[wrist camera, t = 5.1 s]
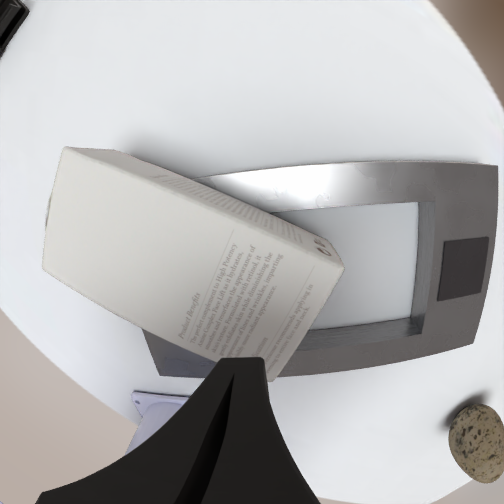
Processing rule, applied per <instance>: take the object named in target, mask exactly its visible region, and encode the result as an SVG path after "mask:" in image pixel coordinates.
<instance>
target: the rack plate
mask: <svg viewBox="0 0 504 504" xmlns="http://www.w3.org/2000/svg"><path fill="white" fill-rule="evenodd" d="M191 180H193V181H196V182H198V183H200V184H203V185H205V186H207V187H210V188H212V189H215V190H217V191H219V192H222V193H224V194H226V195H229V196H231V197H233V198H236V199H238V200H240V201H242V202H245V203H247V204H249V205H251V206H254V207H256V208H258V209H260V210H262V211H265V212H267V213H271V212H282V211H292V210H304V209H315V208H328V207H341V206H355V205H370V204H386V203H405V202H419V235H418V254H417V267H416V278H415V287H414V296H413V303H412V310H411V317H410V318H404V319H398V320H392V321H386V322H379V323H372V324H365V325H357V326H349V327H341V328H332V329H322V330H312V331H308V332H307V333H306V335H305V336H304V338H303V339H302V341H301V343H300V344H299V346H298V347H297V349H296V350H295V352H294V353H293V355H292V356H291V358H290V359H289V360H288V362H287V363H286V365H285V366H284V368H283V369H282V371H281V372H280V373H279V375H278V376H277V377H288V376H301V375H313V374H323V373H332V372H340V371H348V370H355V369H362V368H369V367H375V366H381V365H386V364H392V363H397V362H402V361H407V360H412V359H416V358H421V357H425V356H429V355H433V354H437V353H441V352H445V351H449V350H452V349H456V348H460V347H463V346H466V345H470V344H473V342H474V339H475V336H476V332H477V329H478V326H479V322H480V318H481V315H482V311H483V307H484V302H485V298H486V294H487V289H488V284H489V279H490V273H491V267H492V261H493V254H494V246H495V238H496V227H497V213H498V166H496V165H489V164H481V163H468V162H448V161H361V162H339V163H322V164H309V165H296V166H285V167H275V168H266V169H257V170H249V171H241V172H233V173H226V174H219V175H212V176H205V177H199V178H193V179H191ZM142 330H143V333H144V336H145V339H146V341H147V344H148V347H149V350H150V352H151V355H152V357H153V360H154V363H155V365H156V368H157V370H158V372H159V375H160V376H172V377H190V378H206V377H207V376H208V374H209V373H210V372H211V370H212V369H213V368H214V366H215V365H216V364H217V362H215V361H212V360H210V359H208V358H205V357H203V356H200V355H198V354H196V353H193V352H191V351H189V350H186V349H184V348H182V347H180V346H178V345H176V344H173V343H171V342H169V341H167V340H165V339H163V338H161V337H159V336H156V335H154V334H152V333H150V332H148V331H146V330H144V329H142Z"/></svg>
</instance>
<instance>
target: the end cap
mask: <svg viewBox="0 0 504 504" xmlns="http://www.w3.org/2000/svg"><path fill="white" fill-rule="evenodd" d="M28 14H29V9H28V8H27V7H26V6H25V5H24V4H23V3H22V2H21V1H20V0H0V53H2V51H3V50H4V49H5V48H6V46H7V45H8V43H9V42H10V40H11V39H12V37H13V36H14V34H15V33H16V31H17V30H18V28H19V27H20V25H21V24H22V23H23V21H24V20H25V19H26V17H27V16H28Z"/></svg>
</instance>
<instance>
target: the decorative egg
mask: <svg viewBox="0 0 504 504" xmlns="http://www.w3.org/2000/svg"><path fill="white" fill-rule="evenodd" d="M449 447H450V450H451V453H452V455H453V457H454V459H455V461H456V462H457V464H458V465H459V466H460V467H461V469H462V470H463V471H464V472H465V473H466V474H467V475H469V476H470V477H471V478H473V479H474V480H476V481H479V482H481V483H491V482H494V481H496V480H497V479H498V478H499V477H500V476H501V475H502V473H503V471H504V426H503V423H502V421H501V419H500V417H499V415H498V414H497V413H496V411H495V410H493V409H492V408H491V407H489V406H487V405H483V404H475V405H471V406H468V407H466V408H465V409H463V410H462V411H461V412H460V413H459V414H458V415H457V416H456V417H455V419H454V420H453V422H452V425H451V427H450V431H449Z"/></svg>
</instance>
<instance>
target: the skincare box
mask: <svg viewBox="0 0 504 504" xmlns="http://www.w3.org/2000/svg"><path fill="white" fill-rule="evenodd" d="M42 269H43V270H44V271H45V272H47V273H48V274H50V275H51V276H53V277H54V278H56V279H57V280H59V281H60V282H62V283H64V284H65V285H67V286H68V287H70V288H71V289H73V290H75V291H76V292H78V293H80V294H81V295H83V296H85V297H86V298H88V299H90V300H91V301H93V302H95V303H97V304H98V305H100V306H102V307H103V308H105V309H107V310H109V311H111V312H112V313H114V314H116V315H118V316H120V317H121V318H123V319H125V320H127V321H129V322H131V323H133V324H135V325H137V326H139V327H141V328H142V329H144V330H146V331H148V332H150V333H152V334H154V335H156V336H159V337H161V338H163V339H165V340H167V341H169V342H171V343H173V344H176V345H178V346H180V347H182V348H184V349H186V350H189V351H191V352H193V353H196V354H198V355H200V356H203V357H205V358H208V359H210V360H212V361H215V362H218V361H219V360H220V359H221V358H235V357H261V358H263V359H264V361H265V369H266V377H267V382H273V381H274V380H275V379H276V377H277V376H278V375H279V373H280V372H281V371H282V369H283V368H284V366H285V365H286V363H287V362H288V360H289V359H290V358H291V356H292V355H293V353H294V352H295V350H296V349H297V347H298V346H299V344H300V343H301V341H302V339H303V338H304V336H305V335H306V333H307V332H308V330H309V329H310V327H311V325H312V324H313V322H314V321H315V319H316V317H317V316H318V314H319V313H320V311H321V309H322V308H323V306H324V304H325V303H326V301H327V299H328V298H329V296H330V294H331V292H332V291H333V289H334V287H335V285H336V284H337V282H338V280H339V278H340V277H341V275H342V273H343V271H344V269H345V267H344V265H343V263H342V261H341V259H340V257H339V256H338V254H337V252H336V251H335V249H334V248H333V246H332V245H331V243H330V242H328V241H327V240H326V239H324V238H322V237H319V236H317V235H315V234H312V233H310V232H308V231H306V230H304V229H302V228H300V227H297V226H295V225H293V224H291V223H289V222H287V221H285V220H282V219H280V218H278V217H276V216H274V215H271V214H269V213H267V212H265V211H262V210H260V209H258V208H256V207H254V206H251V205H249V204H247V203H245V202H242V201H240V200H238V199H236V198H233V197H231V196H229V195H226V194H224V193H222V192H219V191H217V190H215V189H212V188H210V187H207V186H205V185H203V184H200V183H198V182H196V181H193V180H191V179H188V178H186V177H183V176H181V175H179V174H176V173H173V172H171V171H169V170H166V169H164V168H161V167H159V166H156V165H154V164H151V163H148V162H145V161H142V160H140V159H137V158H135V157H133V156H130V155H128V154H125V153H123V152H120V151H116V150H111V149H93V148H74V147H64V148H63V149H62V153H61V157H60V161H59V165H58V169H57V173H56V177H55V181H54V186H53V189H52V192H51V195H50V198H49V201H48V205H47V209H46V218H45V241H44V250H43V261H42Z"/></svg>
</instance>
